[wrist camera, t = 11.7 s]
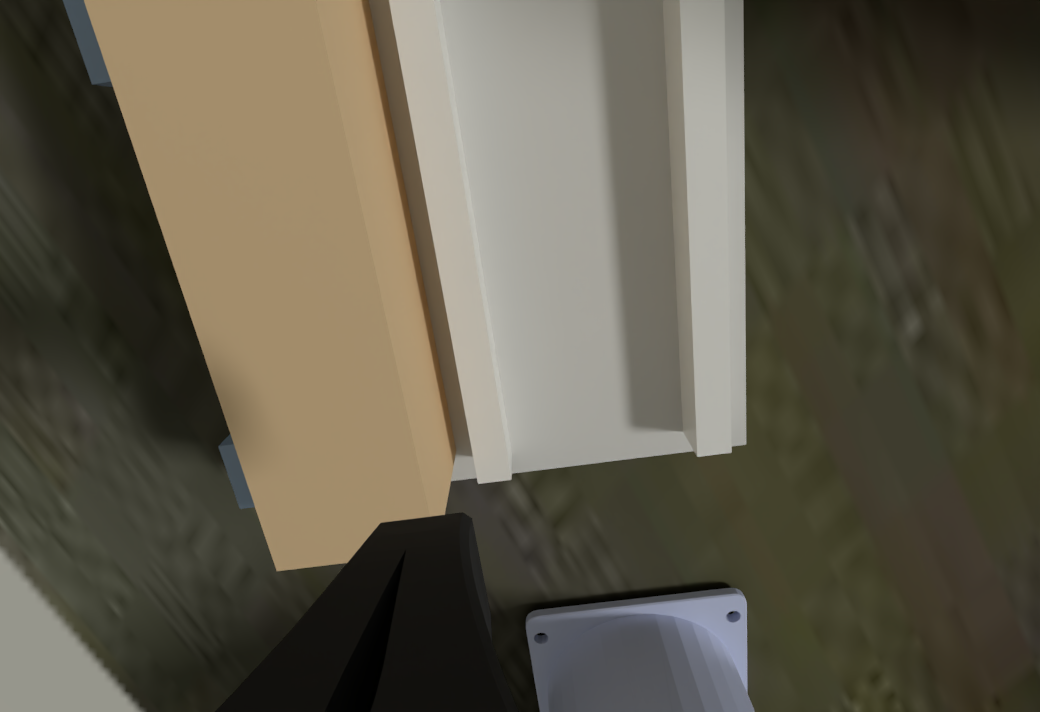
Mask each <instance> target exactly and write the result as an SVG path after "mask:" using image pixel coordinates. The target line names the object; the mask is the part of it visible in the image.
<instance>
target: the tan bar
mask: <svg viewBox="0 0 1040 712" xmlns="http://www.w3.org/2000/svg"><path fill="white" fill-rule="evenodd" d="M84 2H85V5H86V8H87V11H88V14H89V17H90V20H91V23H92V26H93V29H94V32H95V35H96V38H97V41H98V44H99V47H100V50H101V53H102V56H103V59H104V62H105V65H106V68H107V70H108V73H109V76H110V79H111V82H112V85H113V88H114V91H115V94H116V97H117V100H118V103H119V106H120V109H121V112H122V115H123V118H124V121H125V124H126V127H127V130H128V133H129V136H130V139H131V141H132V144H133V147H134V150H135V153H136V156H137V159H138V162H139V165H140V168H141V171H142V174H143V177H144V180H145V183H146V186H147V189H148V192H149V195H150V198H151V201H152V204H153V207H154V209H155V212H156V215H157V218H158V221H159V224H160V227H161V230H162V233H163V236H164V239H165V242H166V245H167V248H168V251H169V254H170V257H171V260H172V263H173V266H174V269H175V272H176V275H177V277H178V280H179V283H180V286H181V289H182V292H183V295H184V298H185V301H186V304H187V307H188V310H189V313H190V316H191V319H192V322H193V325H194V328H195V331H196V334H197V337H198V340H199V343H200V346H201V348H202V351H203V354H204V357H205V360H206V363H207V366H208V369H209V372H210V375H211V378H212V381H213V384H214V387H215V390H216V393H217V396H218V399H219V402H220V405H221V408H222V411H223V414H224V416H225V419H226V422H227V425H228V428H229V431H230V434H231V437H232V440H233V443H234V446H235V449H236V452H237V455H238V458H239V461H240V464H241V467H242V470H243V473H244V476H245V479H246V482H247V484H248V487H249V490H250V493H251V496H252V499H253V502H254V505H255V508H256V511H257V514H258V517H259V520H260V523H261V526H262V529H263V532H264V535H265V538H266V541H267V544H268V547H269V550H270V553H271V555H272V558H273V561H274V564H275V567H276V570H277V571H283V570H291V569H300V568H308V567H316V566H325V565H333V564H341V563H348V562H349V560H350V559H351V558H352V557H353V555H354V554H355V553H356V552H357V551H358V549H359V548H360V547H361V546H362V544H363V543H364V542H365V541H366V540H367V538H368V537H369V536H370V535H371V534H372V532H373V531H374V530H375V529H376V528H377V527H378V525H379V524H380V523H383V522H391V521H399V520H407V519H415V518H423V517H431V516H439V515H445V510H446V505H447V499H448V494H449V488H450V483H451V477H452V472H453V466H454V461H455V455H456V446H455V441H454V436H453V431H452V426H451V420H450V415H449V410H448V405H447V400H446V395H445V390H444V385H443V379H442V374H441V369H440V364H439V359H438V354H437V349H436V344H435V338H434V333H433V328H432V323H431V318H430V313H429V308H428V303H427V297H426V292H425V287H424V282H423V277H422V272H421V267H420V261H419V256H418V251H417V246H416V241H415V236H414V231H413V226H412V220H411V215H410V210H409V205H408V200H407V195H406V190H405V185H404V179H403V174H402V169H401V164H400V159H399V154H398V149H397V144H396V138H395V133H394V128H393V123H392V118H391V113H390V108H389V102H388V97H387V92H386V87H385V82H384V77H383V72H382V67H381V61H380V56H379V51H378V46H377V41H376V36H375V31H374V26H373V20H372V15H371V10H370V5H369V0H84Z"/></svg>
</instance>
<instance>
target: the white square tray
mask: <svg viewBox="0 0 1040 712" xmlns="http://www.w3.org/2000/svg"><path fill="white" fill-rule="evenodd" d="M63 3H64V6H65V8H66V11H67V14H68V17H69V20H70V23H71V26H72V29H73V31H74V34H75V37H76V40H77V43H78V46H79V49H80V52H81V54H82V57H83V60H84V63H85V66H86V69H87V72H88V74H89V77H90V80H91V83H92V85H100V86H108V87H113V85H112V82H111V79H110V76H109V73H108V70H107V68H106V65H105V62H104V59H103V56H102V53H101V50H100V47H99V44H98V41H97V38H96V35H95V32H94V29H93V26H92V23H91V20H90V17H89V14H88V11H87V8H86V5H85V2H84V0H63ZM369 5H370V10H371V15H372V20H373V26H374V31H375V36H376V41H377V46H378V51H379V56H380V61H381V67H382V72H383V77H384V82H385V87H386V92H387V97H388V102H389V108H390V113H391V118H392V123H393V128H394V133H395V138H396V144H397V149H398V154H399V159H400V164H401V169H402V174H403V179H404V185H405V190H406V195H407V200H408V205H409V210H410V215H411V220H412V226H413V231H414V236H415V241H416V246H417V251H418V256H419V261H420V267H421V272H422V277H423V282H424V287H425V292H426V297H427V303H428V308H429V313H430V318H431V323H432V328H433V333H434V338H435V344H436V349H437V354H438V359H439V364H440V369H441V374H442V379H443V385H444V390H445V395H446V400H447V405H448V410H449V415H450V420H451V426H452V431H453V436H454V441H455V446H456V455H455V461H454V466H453V472H452V477H451V481H455V480H463V479H471V478H477V481H478V484H481V483H489V482H497V481H505V480H511V474H512V473H520V472H528V471H536V470H544V469H552V468H560V467H569V466H577V465H585V464H593V463H601V462H609V461H617V460H625V459H633V458H641V457H650V456H658V455H666V454H674V453H682V452H690V451H694V452H695V454H696V455H697V457H700V456H708V455H716V454H724V453H732V446H739V445H746V334H745V178H744V22H743V0H369ZM218 447H219V450H220V453H221V456H222V459H223V462H224V465H225V467H226V470H227V473H228V476H229V479H230V482H231V485H232V488H233V490H234V493H235V496H236V499H237V502H238V505H239V508H240V509H243V508H251V507H255V505H254V502H253V499H252V496H251V493H250V490H249V487H248V484H247V482H246V479H245V476H244V473H243V470H242V467H241V464H240V461H239V458H238V455H237V452H236V449H235V446H234V443H233V440H232V437H231V434H229V436H228V437H227V438H226V439H225V440H224V441H223V442H222V443H221V444H220V445H219V446H218Z"/></svg>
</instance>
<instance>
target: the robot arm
mask: <svg viewBox="0 0 1040 712" xmlns="http://www.w3.org/2000/svg"><path fill="white" fill-rule="evenodd" d="M731 611H735V612H734V613H732V614H728V613H729V612H731ZM526 633H527V639H528V645H529V650H530V656H531V662H532V668H533V674H534V680H535V686H536V692H537V698H538V704H539V710H540V712H755V711H754V708H753V706H752V704H751V701H750V699H749V696H748V694H747V602H746V599H745V597H744V595H743V593H742V592H741V591H740V590H739V589H736V588H724V589H715V590H706V591H697V592H689V593H680V594H671V595H663V596H654V597H645V598H636V599H628V600H619V601H610V602H602V603H593V604H584V605H576V606H567V607H558V608H549V609H541V610H535V611H532V612H531V613H529V614H528V615H527V617H526ZM538 633H545V635H542V636H540V635H537V634H538ZM215 712H519V711H518V708H517V706H516V704H515V701H514V699H513V696H512V694H511V691H510V689H509V686H508V684H507V681H506V679H505V676H504V674H503V671H502V668H501V665H500V663H499V660H498V657H497V654H496V652H495V649H494V646H493V643H492V630H491V613H490V608H489V603H488V598H487V593H486V588H485V583H484V578H483V573H482V568H481V562H480V557H479V552H478V547H477V542H476V537H475V532H474V527H473V522H472V518H470V517H469V516H467V515H466V514H465V513H455V514H447V515H439V516H431V517H423V518H415V519H407V520H399V521H391V522H383V523H380V524H379V525H378V527H377V528H376V529H375V530H374V531H373V532H372V534H371V535H370V536H369V537H368V538H367V540H366V541H365V542H364V543H363V544H362V546H361V547H360V548H359V549H358V551H357V552H356V553H355V554H354V555H353V557H352V558H351V559H350V560H349V562H348V563H347V564H346V565H345V566H344V568H343V569H342V570H341V571H340V573H339V574H338V575H337V576H336V577H335V579H334V580H333V581H332V582H331V584H330V585H329V586H328V587H327V588H326V590H325V591H324V592H323V593H322V594H321V596H320V597H319V598H318V599H317V600H316V601H315V603H314V604H313V605H312V606H311V607H310V608H309V610H308V611H307V612H306V613H305V614H304V616H303V617H302V618H301V619H300V620H299V621H298V623H297V624H296V625H295V626H294V627H293V628H292V630H291V631H290V632H289V633H288V634H287V635H286V636H285V637H284V639H283V640H282V641H281V642H280V643H279V644H278V645H277V646H276V647H275V648H274V649H273V650H272V652H271V653H270V654H269V655H268V656H267V657H266V658H265V659H264V660H263V661H262V662H261V663H260V665H259V666H258V667H257V668H256V669H255V670H254V671H253V672H252V673H251V674H250V675H249V676H248V678H247V679H246V680H245V681H244V682H243V683H242V684H241V685H240V686H239V687H238V688H237V689H236V690H235V692H234V693H233V694H232V695H231V696H230V697H229V698H228V699H227V700H226V701H225V702H224V703H223V704H222V705H221V706H220V707H219V708H218V709H217V710H216V711H215Z"/></svg>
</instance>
